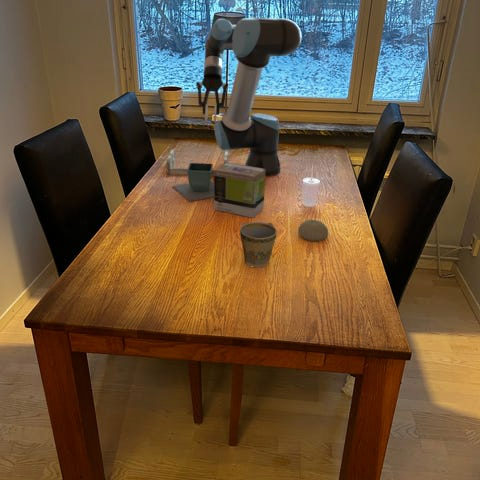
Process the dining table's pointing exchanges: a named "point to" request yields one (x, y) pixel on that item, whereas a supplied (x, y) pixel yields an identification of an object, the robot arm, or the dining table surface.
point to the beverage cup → (310, 190)
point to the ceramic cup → (257, 242)
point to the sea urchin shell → (313, 230)
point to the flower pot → (199, 176)
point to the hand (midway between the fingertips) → (210, 121)
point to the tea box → (239, 189)
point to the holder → (183, 171)
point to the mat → (194, 192)
